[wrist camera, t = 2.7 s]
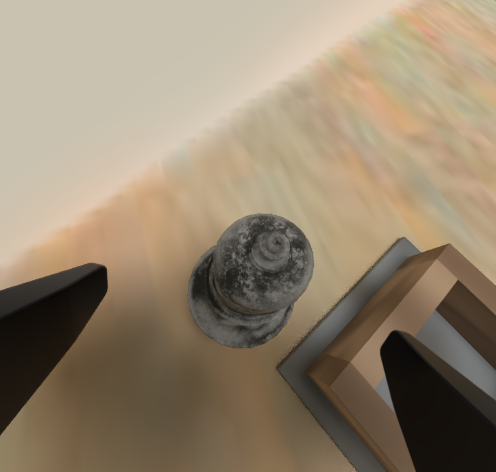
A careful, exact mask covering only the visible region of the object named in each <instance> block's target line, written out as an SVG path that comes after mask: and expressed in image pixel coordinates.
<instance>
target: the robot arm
mask: <svg viewBox="0 0 496 472" xmlns="http://www.w3.org/2000/svg"><path fill="white" fill-rule="evenodd" d="M107 289H108V280H107V268H106V266H104V265H101V264H96V263H88V264H85V265H82V266H78V267H75V268H72V269H69V270H65V271H62V272H59V273H56V274H52V275H49V276H46V277H43V278H39V279H36V280H33V281H30V282H26V283H23V284H20V285H17V286H13V287H10V288H7V289H4V290H0V435H1V434H2V433H3V431H4V430H5V429H6V428H7V426H8V425H9V424H10V423H11V421H12V420H13V419H14V418H15V416H16V415H17V414H18V413H19V411H20V410H21V409H22V408H23V406H24V405H25V404H26V403H27V401H28V400H29V399H30V398H31V396H32V395H33V394H34V392H35V391H36V390H37V389H38V387H39V386H40V385H41V384H42V382H43V381H44V380H45V379H46V377H47V376H48V375H49V374H50V372H51V371H52V370H53V369H54V367H55V366H56V365H57V364H58V362H59V361H60V360H61V359H62V357H63V356H64V355H65V354H66V352H67V351H68V350H69V349H70V347H71V346H72V345H73V343H74V342H75V341H76V339H77V338H78V336H79V335H80V333H81V332H82V330H83V329H84V327H85V326H86V324H87V323H88V321H89V320H90V318H91V316H92V315H93V313H94V312H95V310H96V309H97V307H98V306H99V304H100V303H101V301H102V300H103V298H104V296H105V295H106V293H107ZM380 357H381V361H382V365H383V369H384V373H385V377H386V381H387V385H388V389H389V392H390V396H391V400H392V404H393V407H394V410H395V414H396V417H397V420H398V422H399V425H400V428H401V431H402V434H403V437H404V440H405V443H406V445H407V448H408V451H409V454H410V457H411V460H412V463H413V466H414V469H415V471H416V472H496V400H495V399H493V398H492V397H491V396H489V395H488V394H487V393H486V392H484V391H483V390H482V389H480V388H479V387H478V386H476V385H475V384H474V383H473V382H471V381H470V380H469V379H467V378H466V377H465V376H464V375H462V374H461V373H460V372H458V371H457V370H456V369H455V368H453V367H452V366H451V365H449V364H448V363H447V362H446V361H444V360H443V359H442V358H440V357H439V356H438V355H436V354H435V353H434V352H433V351H431V350H430V349H429V348H427V347H426V346H425V345H424V344H422V343H421V342H420V341H418V340H417V339H416V338H415V337H413V336H412V335H411V334H409V333H407V332H404V331H399V330H393V331H391V332H390V334H389V335H388V337H387V338H386V340H385V341H384V343H383V344H382V345H381V348H380Z"/></svg>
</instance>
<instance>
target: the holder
mask: <svg viewBox="0 0 496 472" xmlns="http://www.w3.org/2000/svg"><path fill="white" fill-rule="evenodd" d="M393 330H399V331H404V332H407V333H409V334H411V335H412V336H413V337H415V338H416V339H417V340H418V341H420V342H421V343H422V344H424V345H425V346H426V347H427V348H429V349H430V350H431V351H433V352H434V353H435V354H436V355H438V356H439V357H440V358H442V359H443V360H444V361H446V362H447V363H448V364H449V365H451V366H452V367H453V368H455V369H456V370H457V371H458V372H460V373H461V374H462V375H464V376H465V377H466V378H467V379H469V380H470V381H471V382H473V383H474V384H475V385H476V386H478V387H479V388H480V389H482V390H483V391H484V392H486V393H487V394H488V395H489V396H491V397H492V398H493V399H495V400H496V286H495V285H494V284H493V283H492V282H491V281H490V280H489V279H488V278H487V277H486V276H485V275H484V274H482V273H481V272H480V271H479V270H478V269H477V268H476V267H475V266H474V265H473V264H472V263H471V262H469V261H468V260H467V259H466V258H465V257H464V256H463V255H462V254H461V253H460V252H459V251H458V250H456V249H455V248H454V247H453V246H452V245H451V244H450V243H449V244H446V245H443V246H440V247H437V248H434V249H431V250H428V251H425V252H422V253H421V252H420V251H419V250H418V249H417V248H416V247H415V246H414V245H413V244H412V243H411V242H410V241H409V240H408V239H406V238H405V237H402V238H400V239H399V240H398V241H397V242H396V243H395V244H394V245H393V246H392V247H391V248H390V250H389V251H388V252H387V253H386V254H385V255H384V256H383V257H382V258H381V259H380V260H379V261H378V262H377V263H376V264H375V265H374V266H373V267H372V268H371V269H370V270H369V272H368V273H367V274H366V275H365V276H364V277H363V278H362V279H361V280H360V281H359V282H358V283H357V284H356V285H355V286H354V287H353V288H352V289H351V290H350V291H349V292H348V293H347V295H346V296H345V297H344V298H343V299H342V300H341V301H340V302H339V303H338V304H337V305H336V306H335V307H334V308H333V309H332V310H331V311H330V312H329V313H328V314H327V315H326V316H325V318H324V319H323V320H322V321H321V322H320V323H319V324H318V325H317V326H316V327H315V328H314V329H313V330H312V331H311V332H310V333H309V334H308V335H307V336H306V337H305V338H304V340H303V341H302V342H301V343H300V344H299V345H298V346H297V347H296V348H295V349H294V350H293V351H292V352H291V353H290V354H289V355H288V356H287V357H286V358H285V359H284V360H283V361H282V363H281V364H280V365H279V366H278V367H277V370H278V371H279V372H280V374H281V375H282V376H283V377H284V379H285V380H286V381H287V382H288V384H289V385H290V386H291V387H292V389H293V390H294V391H295V392H296V394H297V395H298V396H299V398H300V399H301V400H302V401H303V403H304V404H305V405H306V406H307V408H308V409H309V410H310V411H311V413H312V414H313V415H314V417H315V418H316V419H317V420H318V422H319V423H320V424H321V425H322V427H323V428H324V429H325V430H326V432H327V433H328V434H329V436H330V437H331V438H332V439H333V441H334V442H335V443H336V444H337V446H338V447H339V448H340V449H341V451H342V452H343V453H344V454H345V456H346V457H347V458H348V460H349V461H350V462H351V463H352V465H353V466H354V467H355V468H356V470H357V471H358V472H416V471H415V469H414V466H413V463H412V460H411V457H410V454H409V451H408V448H407V445H406V443H405V440H404V437H403V434H402V431H401V428H400V425H399V422H398V420H397V417H396V414H395V410H394V407H393V404H392V400H391V396H390V392H389V389H388V385H387V381H386V377H385V373H384V369H383V365H382V361H381V357H380V348H381V345H382V344H383V343H384V341H385V340H386V338H387V337H388V335H389V334H390V332H391V331H393Z"/></svg>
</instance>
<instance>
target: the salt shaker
mask: <svg viewBox="0 0 496 472" xmlns="http://www.w3.org/2000/svg"><path fill="white" fill-rule="evenodd" d="M313 268H314V259H313V252H312V249H311V246H310V243H309V241H308V239H307V238H306V236H305V235H304V233H303V232H302V231H301V230H300V229H299V228H298V227H297V226H296V225H295V224H293V223H292V222H290V221H288V220H287V219H285V218H283V217H280V216H276V215H273V214H254V215H249V216H246V217H244V218H242V219H239V220H237V221H236V222H234V223H233V224H232V225H231V226H230V227H228V228H227V229H226V230H225V232H224V233H223V234H222V236H221V237H220V239H219V240H218V242H217V245H216V246H214V247H212V248H211V249H209V250H208V251H207V252H206V253H205V254H204V255H203V256H201V258H200V259H199V261H198V262H197V264H196V265H195V267H194V268H193V271H192V274H191V277H190V280H189V285H188V301H189V306H190V311H191V313H192V315H193V317H194V320H195V322H196V324H197V325H198V326H199V327H200V329H201V330H202V331H203V332H204V333H205V334H206V335H207V336H208V337H210V338H211V339H213V340H214V341H216V342H217V343H219V344H221V345H225V346H228V347H232V348H252V347H255V346H258V345H261V344H264V343H266V342H267V341H269V340H270V339H272V338H273V337H275V336H276V335H277V334H278V333H279V332H280V331H281V330H282V328H283V327H284V326H285V325H286V323H287V321H288V319H289V317H290V315H291V313H292V310H293V305H294V302H295V301H296V300H297V299H298V298H299V297H300V296H301V295H302V294H303V293H304V292H305V290H306V288H307V286H308V284H309V282H310V280H311V278H312V274H313Z"/></svg>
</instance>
